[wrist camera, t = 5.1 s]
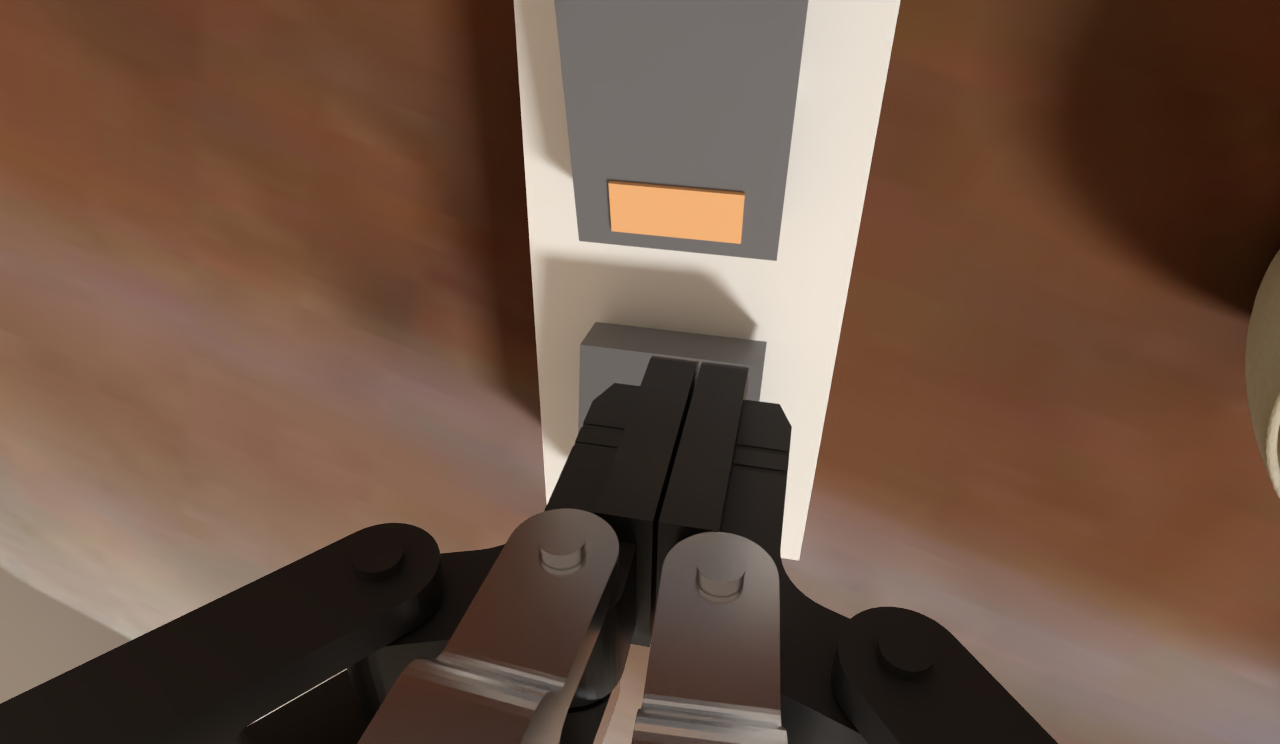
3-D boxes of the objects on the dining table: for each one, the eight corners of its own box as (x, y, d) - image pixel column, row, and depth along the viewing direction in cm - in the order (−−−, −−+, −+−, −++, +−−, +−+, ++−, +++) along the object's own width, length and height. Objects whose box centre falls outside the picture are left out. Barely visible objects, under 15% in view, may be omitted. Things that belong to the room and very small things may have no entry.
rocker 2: (766, 341, 23) (763, 368, 22) (742, 544, 26) (737, 581, 24) (595, 321, 24) (579, 345, 22) (589, 520, 27) (574, 555, 25)
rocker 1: (817, -73, 16) (812, -35, 15) (782, 217, 21) (776, 263, 20) (572, -83, 17) (547, -47, 16) (595, 199, 22) (578, 243, 21)
